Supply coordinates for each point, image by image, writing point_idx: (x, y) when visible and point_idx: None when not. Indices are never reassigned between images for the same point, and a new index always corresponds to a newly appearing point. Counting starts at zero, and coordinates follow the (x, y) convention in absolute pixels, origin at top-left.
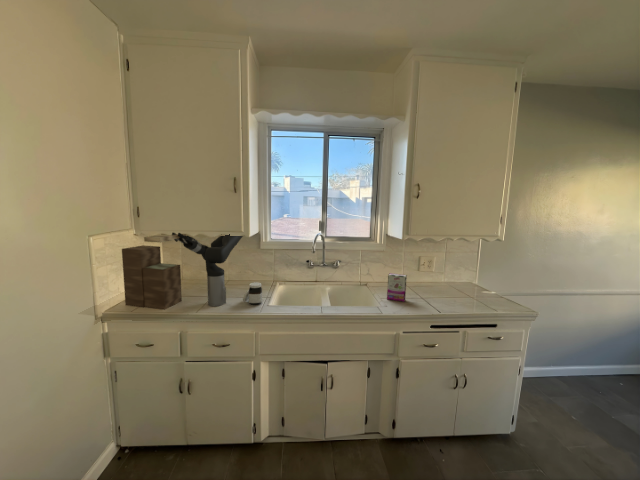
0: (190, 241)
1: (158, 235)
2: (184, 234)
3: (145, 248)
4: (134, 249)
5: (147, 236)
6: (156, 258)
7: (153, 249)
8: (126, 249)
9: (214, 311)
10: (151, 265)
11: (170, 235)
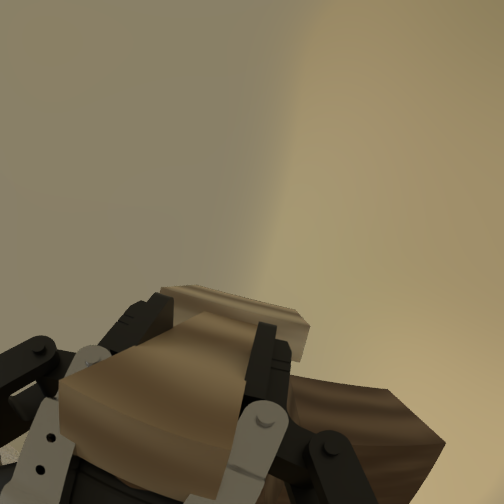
0: (3, 437)
1: (277, 314)
2: (96, 366)
3: (314, 396)
4: (329, 383)
5: (294, 311)
6: (275, 479)
7: (293, 418)
8: (364, 388)
9: (3, 451)
10: (265, 479)
11: (245, 337)
